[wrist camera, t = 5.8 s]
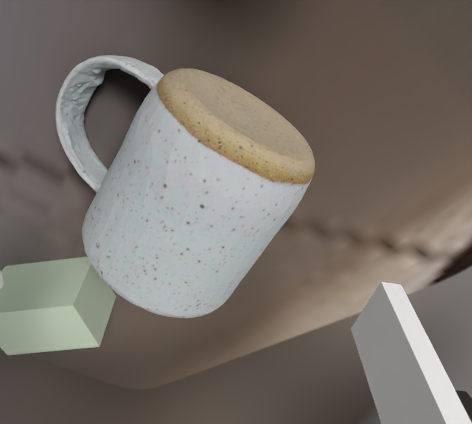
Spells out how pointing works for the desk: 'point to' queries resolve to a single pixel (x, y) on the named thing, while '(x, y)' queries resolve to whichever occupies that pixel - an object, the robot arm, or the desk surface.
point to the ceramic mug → (183, 185)
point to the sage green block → (53, 306)
